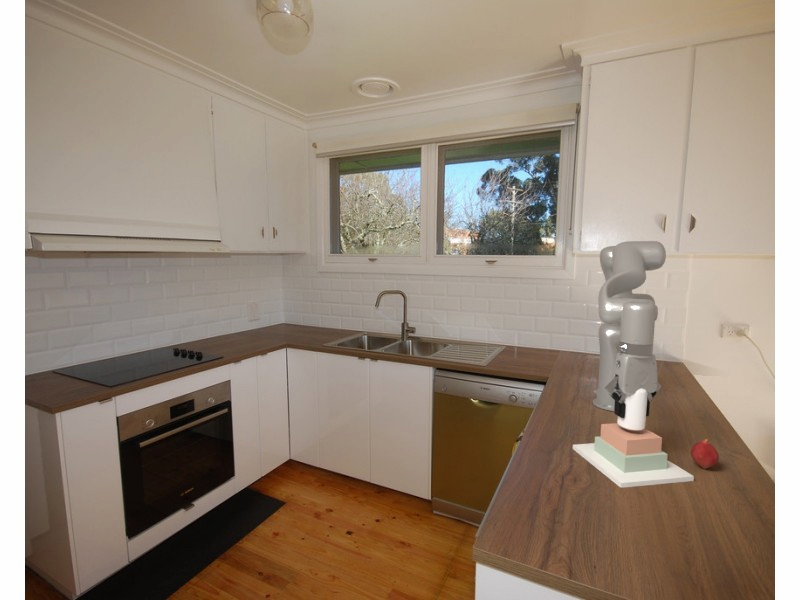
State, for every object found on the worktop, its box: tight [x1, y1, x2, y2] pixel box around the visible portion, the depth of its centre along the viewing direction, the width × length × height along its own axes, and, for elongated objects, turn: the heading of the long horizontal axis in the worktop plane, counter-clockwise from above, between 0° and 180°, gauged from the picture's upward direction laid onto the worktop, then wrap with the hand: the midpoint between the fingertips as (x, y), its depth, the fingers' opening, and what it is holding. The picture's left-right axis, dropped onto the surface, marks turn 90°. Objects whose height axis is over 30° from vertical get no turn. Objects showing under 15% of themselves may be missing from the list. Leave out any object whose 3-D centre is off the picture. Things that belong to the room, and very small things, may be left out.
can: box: [616, 386, 648, 431], centre depth 105 cm, size 6×6×12 cm
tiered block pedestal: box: [572, 422, 695, 489], centre depth 107 cm, size 20×20×9 cm
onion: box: [690, 439, 720, 470], centre depth 104 cm, size 6×6×8 cm
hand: (631, 414), depth 106 cm, fingers closed on can, 6 cm apart
